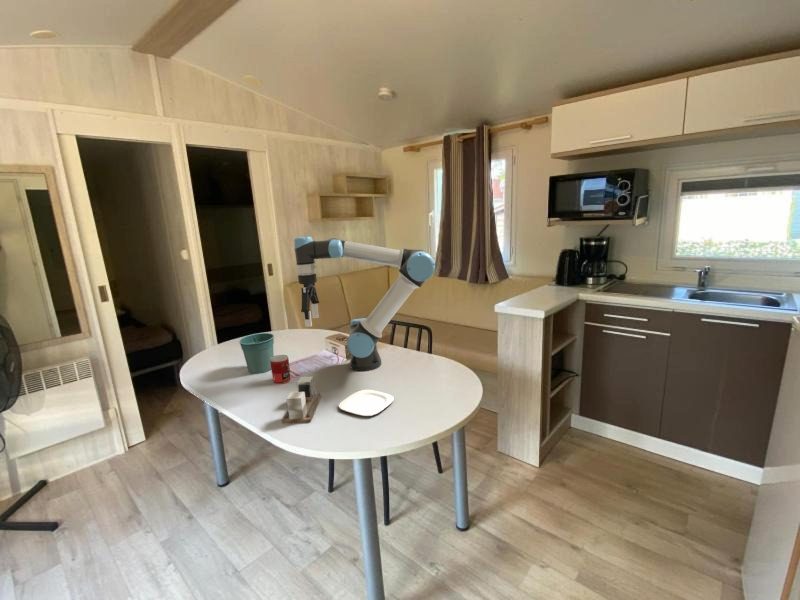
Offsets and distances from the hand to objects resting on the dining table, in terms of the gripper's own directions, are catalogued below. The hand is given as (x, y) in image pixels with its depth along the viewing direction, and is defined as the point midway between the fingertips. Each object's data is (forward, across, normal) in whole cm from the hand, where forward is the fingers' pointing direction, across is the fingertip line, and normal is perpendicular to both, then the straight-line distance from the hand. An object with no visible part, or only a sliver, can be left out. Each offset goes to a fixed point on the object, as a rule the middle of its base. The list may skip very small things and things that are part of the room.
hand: (312, 322), depth 164 cm
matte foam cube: (+26, -21, 0) cm, 33 cm away
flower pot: (+27, +16, +32) cm, 45 cm away
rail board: (+27, -27, 0) cm, 38 cm away
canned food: (+27, +1, +17) cm, 32 cm away
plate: (+27, -26, -24) cm, 45 cm away
